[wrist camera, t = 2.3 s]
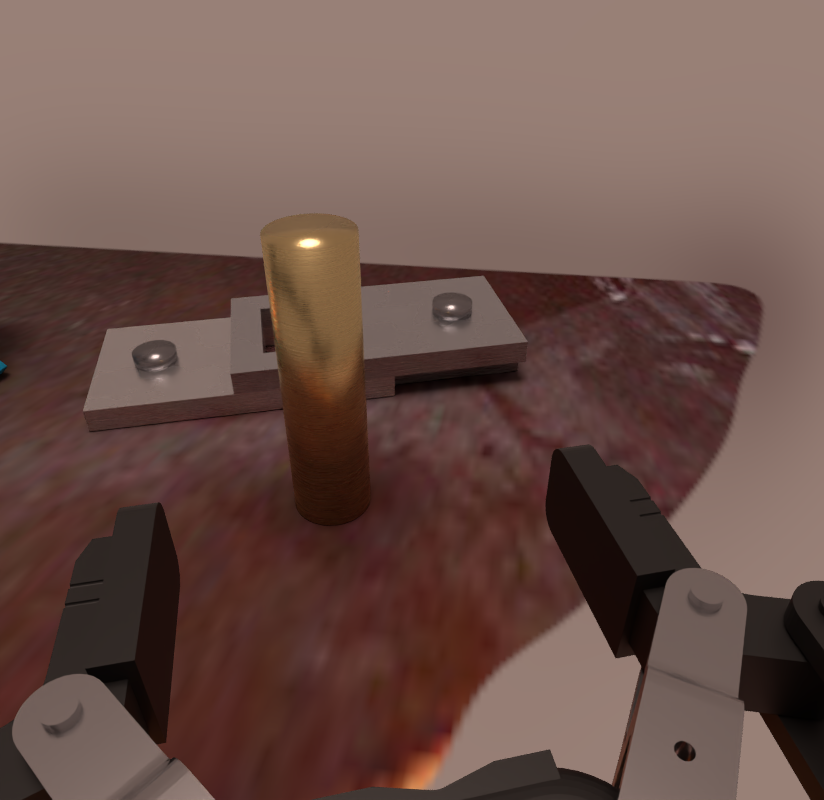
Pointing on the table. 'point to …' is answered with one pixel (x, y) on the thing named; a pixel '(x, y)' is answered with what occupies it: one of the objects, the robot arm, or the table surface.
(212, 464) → the table surface
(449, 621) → the table surface
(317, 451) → the brass pin
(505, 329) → the bolted metal plate
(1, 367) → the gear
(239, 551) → the table surface
